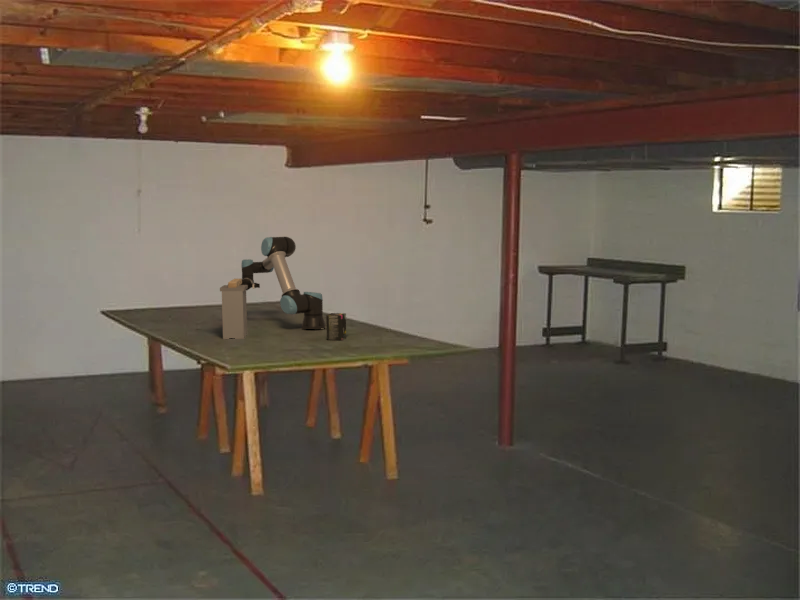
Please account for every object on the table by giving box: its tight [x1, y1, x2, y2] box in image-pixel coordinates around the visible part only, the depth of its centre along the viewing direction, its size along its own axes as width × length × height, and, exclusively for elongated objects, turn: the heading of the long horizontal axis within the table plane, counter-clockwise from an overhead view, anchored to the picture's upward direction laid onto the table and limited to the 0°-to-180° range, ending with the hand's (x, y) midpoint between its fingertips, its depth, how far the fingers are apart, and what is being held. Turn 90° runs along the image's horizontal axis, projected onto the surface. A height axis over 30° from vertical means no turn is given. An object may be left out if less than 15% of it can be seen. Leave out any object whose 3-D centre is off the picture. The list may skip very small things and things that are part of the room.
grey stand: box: [219, 284, 248, 340], centre depth 529 cm, size 18×14×30 cm
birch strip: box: [227, 278, 242, 288], centre depth 533 cm, size 28×4×3 cm, turn 3°
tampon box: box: [325, 312, 347, 341], centre depth 518 cm, size 11×9×15 cm
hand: (242, 286), depth 568 cm, fingers open, 13 cm apart
